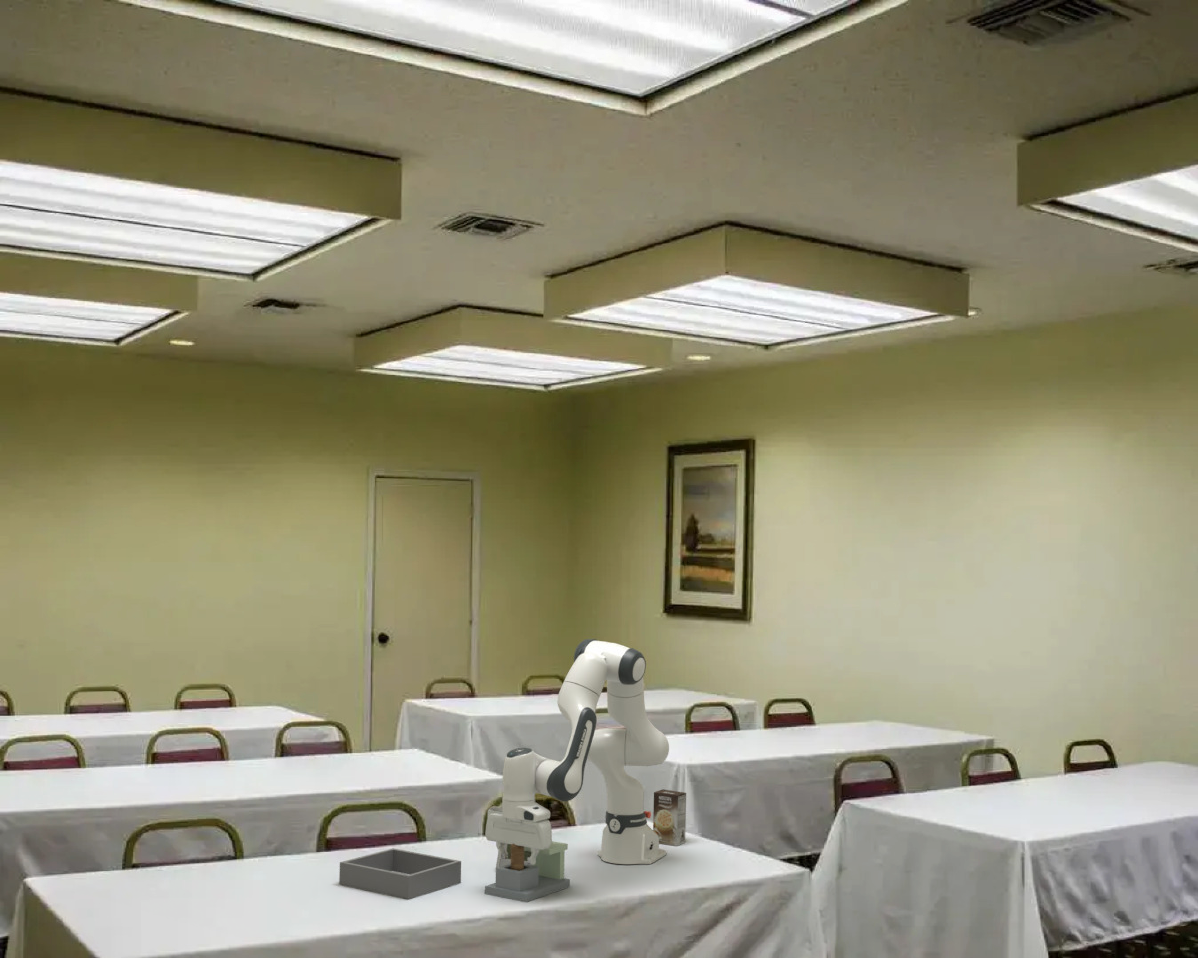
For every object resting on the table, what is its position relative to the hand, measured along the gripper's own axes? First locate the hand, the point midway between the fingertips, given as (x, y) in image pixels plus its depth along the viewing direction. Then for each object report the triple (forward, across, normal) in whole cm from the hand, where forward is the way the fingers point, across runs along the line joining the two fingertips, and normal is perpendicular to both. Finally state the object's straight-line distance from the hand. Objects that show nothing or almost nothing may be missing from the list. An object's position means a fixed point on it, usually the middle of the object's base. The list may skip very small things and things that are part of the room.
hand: (517, 861), depth 347 cm
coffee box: (+9, +1, +79) cm, 79 cm away
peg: (+7, 0, 0) cm, 7 cm away
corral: (+9, -32, -11) cm, 35 cm away
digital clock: (+9, -12, +19) cm, 25 cm away
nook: (+9, 0, +5) cm, 10 cm away
